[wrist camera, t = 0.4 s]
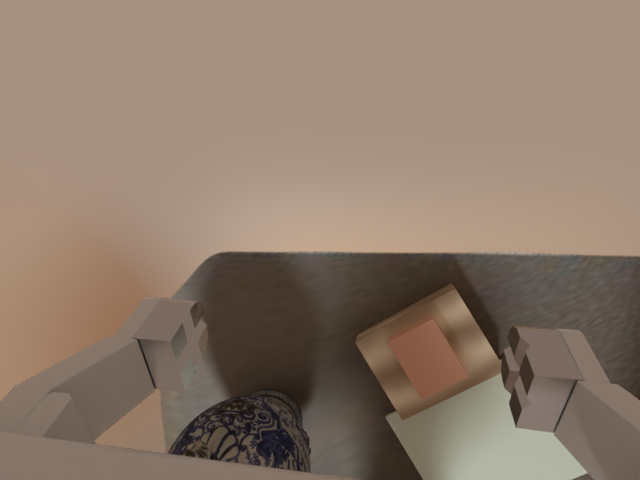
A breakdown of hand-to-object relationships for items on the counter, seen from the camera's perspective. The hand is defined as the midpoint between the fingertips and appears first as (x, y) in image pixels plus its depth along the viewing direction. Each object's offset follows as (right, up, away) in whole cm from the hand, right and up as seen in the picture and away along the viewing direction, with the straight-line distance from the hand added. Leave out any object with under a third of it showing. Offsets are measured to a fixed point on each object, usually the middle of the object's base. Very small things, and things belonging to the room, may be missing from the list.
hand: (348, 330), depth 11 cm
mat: (+24, -27, +50) cm, 62 cm away
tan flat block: (+15, -13, +50) cm, 54 cm away
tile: (+14, -13, +47) cm, 50 cm away
